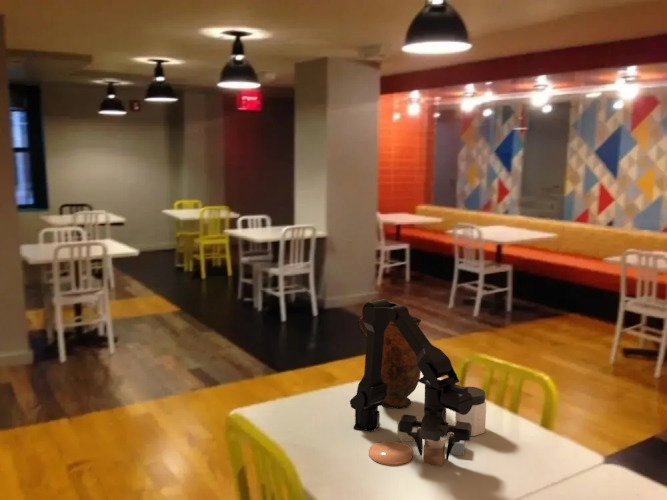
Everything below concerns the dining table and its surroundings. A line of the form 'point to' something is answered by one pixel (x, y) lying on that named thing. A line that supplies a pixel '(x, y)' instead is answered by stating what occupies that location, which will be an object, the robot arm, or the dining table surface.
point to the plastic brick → (458, 448)
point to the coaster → (390, 453)
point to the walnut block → (434, 452)
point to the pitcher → (397, 366)
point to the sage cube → (404, 436)
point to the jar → (475, 412)
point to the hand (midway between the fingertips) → (434, 457)
